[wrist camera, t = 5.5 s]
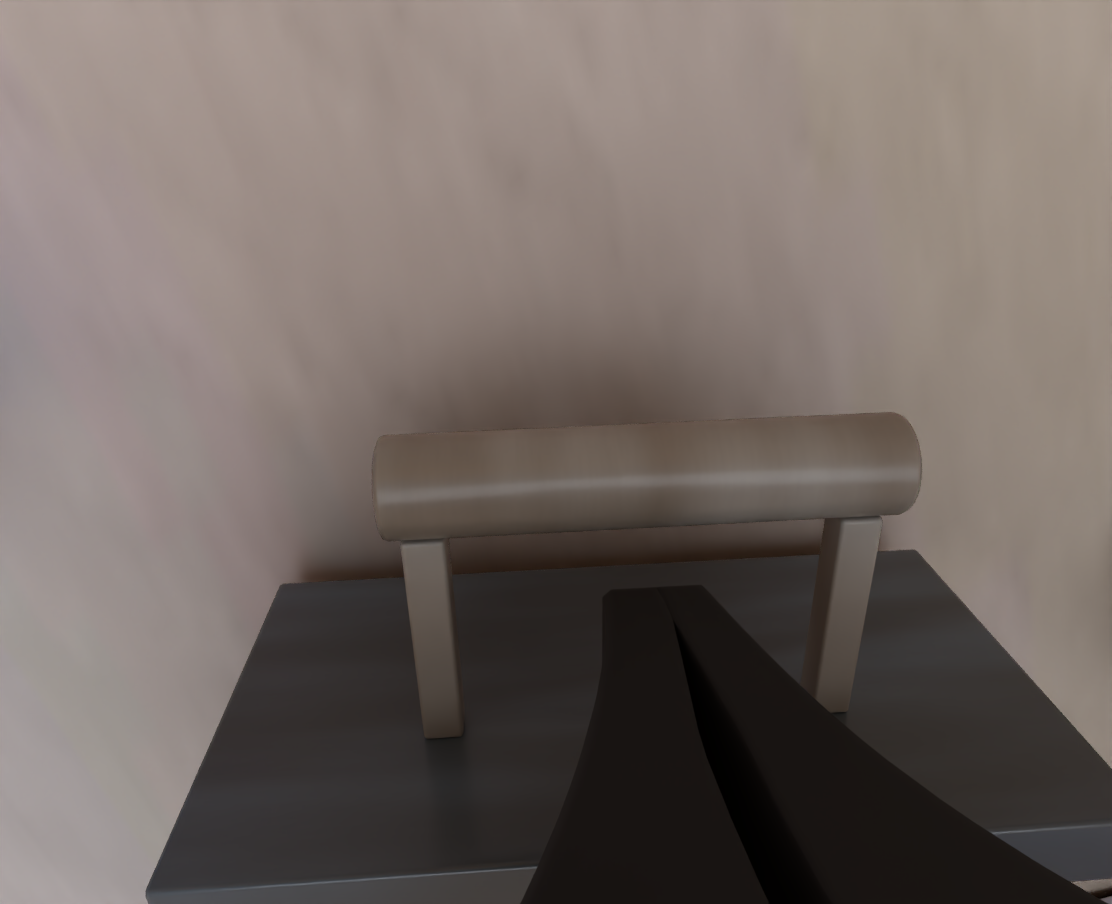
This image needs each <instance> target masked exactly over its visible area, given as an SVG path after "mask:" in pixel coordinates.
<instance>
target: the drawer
mask: <svg viewBox="0 0 1112 904" xmlns="http://www.w3.org/2000/svg"><path fill="white" fill-rule="evenodd" d="M921 477H922V459H921V452H920V447H919V443H918V439H917V437H916V434H915V432H914V430H913V428H912V426H911V424H910V423H909V422H908V420H907V419H906V418H904V417H903V416H901V415H899V414H896V413H893V412H883V413H861V414H839V415H817V416H795V417H773V418H751V419H729V420H707V421H685V422H663V423H641V424H619V425H597V426H575V427H553V428H531V429H509V430H487V431H465V432H443V433H421V434H399V435H384V436H381V437H379V438H378V440H377V442H376V445H375V449H374V454H373V462H372V496H373V507H374V514H375V520H376V524H377V528H378V531H379V533H380V535H381V537H382V539H384V540H386V541H401V545H400V548H401V556H402V564H403V572H404V577H399V578H381V579H362V580H344V581H325V582H307V583H289V584H282V585H280V587H279V589H278V591H277V593H276V596H275V598H274V600H273V602H272V605H271V607H270V609H269V612H268V614H267V616H266V618H265V621H264V623H263V625H262V627H261V630H260V632H259V634H258V637H257V639H256V641H255V643H254V646H253V648H252V650H251V652H250V655H249V657H248V659H247V662H246V664H245V666H244V668H243V671H242V673H241V675H240V677H239V680H238V682H237V684H236V686H235V689H234V691H233V693H232V696H231V698H230V700H229V702H228V705H227V707H226V709H225V711H224V714H223V716H222V718H221V721H220V723H219V725H218V727H217V730H216V732H215V734H214V736H213V739H212V741H211V743H210V745H209V748H208V750H207V752H206V755H205V757H204V759H203V761H202V764H201V766H200V768H199V770H198V773H197V775H196V777H195V780H194V782H193V784H192V786H191V789H190V791H189V793H188V795H187V798H186V800H185V802H184V805H183V807H182V809H181V811H180V814H179V816H178V818H177V820H176V823H175V825H174V827H173V829H172V832H171V834H170V836H169V839H168V841H167V843H166V845H165V848H164V850H163V852H162V854H161V857H160V859H159V861H158V864H157V866H156V868H155V870H154V873H153V875H152V877H151V879H150V882H149V884H148V886H147V889H146V899H147V901H148V904H520V903H521V901H522V899H523V897H524V895H525V892H526V890H527V888H528V886H529V884H530V882H531V880H532V878H533V875H534V873H535V871H536V869H537V867H538V864H539V862H540V860H541V857H542V855H543V853H544V850H545V848H546V846H547V843H548V841H549V838H550V836H551V834H552V831H553V829H554V827H555V824H556V822H557V819H558V817H559V814H560V812H561V809H562V806H563V804H564V801H565V798H566V796H567V793H568V790H569V788H570V785H571V782H572V779H573V776H574V773H575V770H576V767H577V764H578V761H579V758H580V755H581V752H582V748H583V745H584V741H585V737H586V734H587V730H588V727H589V723H590V719H591V716H592V712H593V708H594V705H595V700H596V696H597V691H598V685H599V680H600V674H601V669H602V597H603V596H604V595H605V594H606V593H608V592H609V591H610V590H611V589H628V588H646V587H665V586H683V585H702V586H703V587H704V588H706V589H707V590H708V591H709V592H710V593H711V594H712V596H713V597H714V598H715V599H716V600H717V601H718V602H719V603H720V604H721V605H722V606H723V607H724V608H725V609H726V610H727V612H728V613H729V614H730V615H731V616H732V617H733V618H734V619H735V620H736V621H737V622H738V623H739V624H740V625H741V626H742V628H743V629H744V630H745V631H746V632H747V633H748V634H749V635H750V636H751V637H752V638H753V639H754V640H755V641H756V642H757V643H758V644H759V645H760V646H761V647H762V648H763V649H764V650H765V651H766V652H767V653H768V654H769V655H770V656H771V657H772V658H773V659H774V660H775V661H776V662H777V663H778V664H779V665H780V666H781V667H782V668H783V669H784V670H785V671H786V672H787V673H788V674H789V675H790V676H791V677H792V678H794V679H795V680H796V681H797V682H798V683H799V684H800V685H801V686H802V687H803V688H804V689H805V690H806V691H807V692H808V693H809V694H810V695H811V696H812V697H814V698H815V699H816V700H817V701H818V702H819V703H820V704H821V705H822V706H823V707H825V708H826V709H827V710H828V711H829V712H830V713H831V714H832V715H834V716H835V717H836V718H837V719H838V720H839V721H841V722H842V723H843V724H844V725H845V726H846V727H848V728H849V729H850V730H851V731H852V732H853V733H855V734H856V735H857V736H858V737H859V738H861V739H862V740H863V741H864V742H865V743H867V744H868V745H869V746H870V747H872V748H873V749H874V750H875V751H877V752H878V753H879V754H881V755H882V756H883V757H884V758H886V759H887V760H888V761H890V762H891V763H892V764H894V765H895V766H896V767H898V768H899V769H900V770H902V771H903V772H904V773H906V774H907V775H909V776H910V777H911V778H913V779H914V780H915V781H917V782H918V783H919V784H921V785H922V786H923V787H925V788H926V789H927V790H929V791H930V792H932V793H933V794H934V795H936V796H937V797H938V798H940V799H941V800H943V801H944V802H945V803H947V804H948V805H950V806H951V807H953V808H954V809H956V810H957V811H959V812H960V813H962V814H963V815H964V816H966V817H967V818H969V819H970V820H972V821H973V822H975V823H976V824H978V825H980V826H981V827H983V828H984V829H986V830H987V831H989V832H990V833H992V834H994V835H995V836H997V837H998V838H1000V839H1001V840H1003V841H1005V842H1006V843H1008V844H1009V845H1011V846H1012V847H1014V848H1015V849H1017V850H1019V851H1020V852H1022V853H1023V854H1025V855H1026V856H1028V857H1030V858H1031V859H1033V860H1034V861H1036V862H1037V863H1039V864H1041V865H1042V866H1044V867H1046V868H1047V869H1049V870H1051V871H1053V872H1054V873H1056V874H1058V875H1059V876H1061V877H1063V878H1064V879H1066V880H1068V881H1069V882H1072V881H1085V880H1098V879H1112V769H1111V768H1110V767H1109V765H1108V764H1107V763H1106V762H1105V761H1104V760H1103V759H1102V758H1101V757H1100V755H1099V754H1098V753H1097V752H1096V751H1095V750H1094V749H1093V748H1092V746H1091V745H1090V744H1089V743H1088V742H1087V741H1086V740H1085V739H1084V737H1083V736H1082V735H1081V734H1080V733H1079V732H1078V731H1077V730H1076V729H1075V727H1074V726H1073V725H1072V724H1071V723H1070V722H1069V721H1068V720H1067V718H1066V717H1065V716H1064V715H1063V714H1062V713H1061V712H1060V711H1059V710H1058V708H1057V707H1056V706H1055V705H1054V704H1053V703H1052V702H1051V701H1050V699H1049V698H1048V697H1047V696H1046V695H1045V694H1044V693H1043V692H1042V690H1041V689H1040V688H1039V687H1038V686H1037V685H1036V684H1035V683H1034V682H1033V680H1032V679H1031V678H1030V677H1029V676H1028V675H1027V674H1026V673H1025V671H1024V670H1023V669H1022V668H1021V667H1020V666H1019V665H1018V664H1017V663H1016V661H1015V660H1014V659H1013V658H1012V657H1011V656H1010V655H1009V654H1008V652H1007V651H1006V650H1005V649H1004V648H1003V647H1002V646H1001V645H1000V643H999V642H998V641H997V640H996V639H995V638H994V637H993V636H992V635H991V633H990V632H989V631H988V630H987V629H986V628H985V627H984V626H983V624H982V623H981V622H980V621H979V620H978V619H977V618H976V617H975V615H974V614H973V613H972V612H971V611H970V610H969V609H968V608H967V607H966V605H965V604H964V603H963V602H962V601H961V600H960V599H959V598H958V596H957V595H956V594H955V593H954V592H953V591H952V590H951V589H950V588H949V586H948V585H947V584H946V583H945V582H944V581H943V580H942V579H941V577H940V576H939V575H938V574H937V573H936V572H935V571H934V570H933V568H932V567H931V566H930V565H929V564H928V563H927V562H926V561H925V560H924V558H923V557H922V556H921V555H920V554H919V553H918V552H917V551H916V550H895V551H877V550H878V545H879V539H880V534H881V528H882V523H883V522H882V518H881V517H880V516H883V515H898V514H902V513H904V512H906V511H907V510H909V509H910V508H911V507H912V505H913V504H914V502H915V500H916V498H917V496H918V493H919V489H920V485H921ZM806 519H825V520H824V527H823V533H822V540H821V547H820V554H819V555H803V556H785V557H767V558H748V559H730V560H711V561H693V562H675V563H656V564H638V565H620V566H601V567H583V568H564V569H546V570H528V571H509V572H491V573H472V574H454V575H452V568H451V557H450V546H449V538H460V537H480V536H499V535H518V534H537V533H556V532H576V531H595V530H614V529H633V528H652V527H672V526H691V525H710V524H729V523H748V522H768V521H787V520H806Z"/></svg>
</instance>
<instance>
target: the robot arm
mask: <svg viewBox="0 0 1112 904" xmlns="http://www.w3.org/2000/svg"><path fill="white" fill-rule="evenodd" d="M520 904H1112V896H1110V897H1106V898H1102V899H1099V898H1097V897H1095V896H1093V895H1092V894H1090V893H1088V892H1086V891H1085V890H1083V889H1081V888H1080V887H1078V886H1076V885H1074V884H1073V883H1071V882H1069V881H1068V880H1066V879H1064V878H1063V877H1061V876H1059V875H1058V874H1056V873H1054V872H1053V871H1051V870H1049V869H1047V868H1046V867H1044V866H1042V865H1041V864H1039V863H1037V862H1036V861H1034V860H1033V859H1031V858H1030V857H1028V856H1026V855H1025V854H1023V853H1022V852H1020V851H1019V850H1017V849H1015V848H1014V847H1012V846H1011V845H1009V844H1008V843H1006V842H1005V841H1003V840H1001V839H1000V838H998V837H997V836H995V835H994V834H992V833H990V832H989V831H987V830H986V829H984V828H983V827H981V826H980V825H978V824H976V823H975V822H973V821H972V820H970V819H969V818H967V817H966V816H964V815H963V814H962V813H960V812H959V811H957V810H956V809H954V808H953V807H951V806H950V805H948V804H947V803H945V802H944V801H943V800H941V799H940V798H938V797H937V796H936V795H934V794H933V793H932V792H930V791H929V790H927V789H926V788H925V787H923V786H922V785H921V784H919V783H918V782H917V781H915V780H914V779H913V778H911V777H910V776H909V775H907V774H906V773H904V772H903V771H902V770H900V769H899V768H898V767H896V766H895V765H894V764H892V763H891V762H890V761H888V760H887V759H886V758H884V757H883V756H882V755H881V754H879V753H878V752H877V751H875V750H874V749H873V748H872V747H870V746H869V745H868V744H867V743H865V742H864V741H863V740H862V739H861V738H859V737H858V736H857V735H856V734H855V733H853V732H852V731H851V730H850V729H849V728H848V727H846V726H845V725H844V724H843V723H842V722H841V721H839V720H838V719H837V718H836V717H835V716H834V715H832V714H831V713H830V712H829V711H828V710H827V709H826V708H825V707H823V706H822V705H821V704H820V703H819V702H818V701H817V700H816V699H815V698H814V697H812V696H811V695H810V694H809V693H808V692H807V691H806V690H805V689H804V688H803V687H802V686H801V685H800V684H799V683H798V682H797V681H796V680H795V679H794V678H792V677H791V676H790V675H789V674H788V673H787V672H786V671H785V670H784V669H783V668H782V667H781V666H780V665H779V664H778V663H777V662H776V661H775V660H774V659H773V658H772V657H771V656H770V655H769V654H768V653H767V652H766V651H765V650H764V649H763V648H762V647H761V646H760V645H759V644H758V643H757V642H756V641H755V640H754V639H753V638H752V637H751V636H750V635H749V634H748V633H747V632H746V631H745V630H744V629H743V628H742V626H741V625H740V624H739V623H738V622H737V621H736V620H735V619H734V618H733V617H732V616H731V615H730V614H729V613H728V612H727V610H726V609H725V608H724V607H723V606H722V605H721V604H720V603H719V602H718V601H717V600H716V599H715V598H714V597H713V596H712V594H711V593H710V592H709V591H708V590H707V589H706V588H704V587H703V586H702V585H683V586H665V587H646V588H628V589H611V590H610V591H609V592H608V593H606V594H605V595H604V596H603V597H602V669H601V674H600V680H599V685H598V691H597V696H596V700H595V705H594V708H593V712H592V716H591V719H590V723H589V727H588V730H587V734H586V737H585V741H584V745H583V748H582V752H581V755H580V758H579V761H578V764H577V767H576V770H575V773H574V776H573V779H572V782H571V785H570V788H569V790H568V793H567V796H566V798H565V801H564V804H563V806H562V809H561V812H560V814H559V817H558V819H557V822H556V824H555V827H554V829H553V831H552V834H551V836H550V838H549V841H548V843H547V846H546V848H545V850H544V853H543V855H542V857H541V860H540V862H539V864H538V867H537V869H536V871H535V873H534V875H533V878H532V880H531V882H530V884H529V886H528V888H527V890H526V892H525V895H524V897H523V899H522V901H521V903H520Z"/></svg>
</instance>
